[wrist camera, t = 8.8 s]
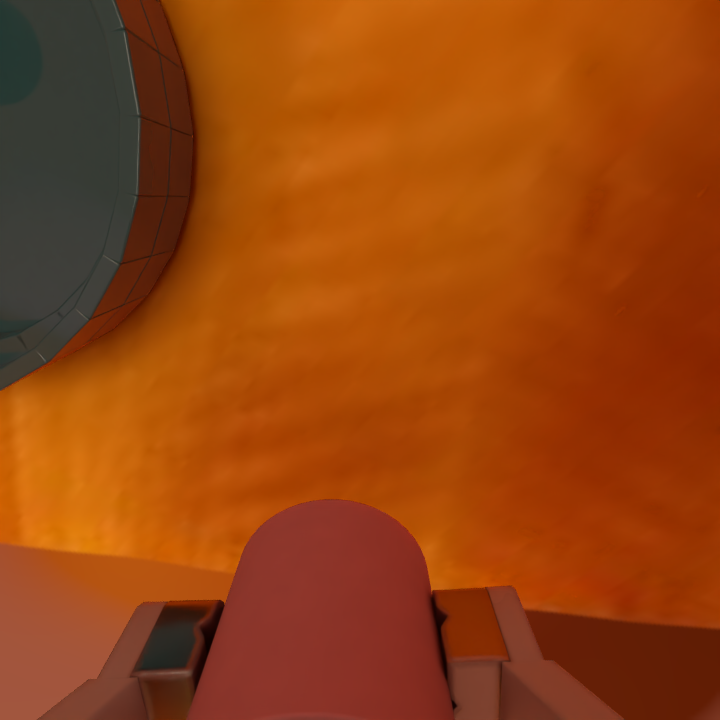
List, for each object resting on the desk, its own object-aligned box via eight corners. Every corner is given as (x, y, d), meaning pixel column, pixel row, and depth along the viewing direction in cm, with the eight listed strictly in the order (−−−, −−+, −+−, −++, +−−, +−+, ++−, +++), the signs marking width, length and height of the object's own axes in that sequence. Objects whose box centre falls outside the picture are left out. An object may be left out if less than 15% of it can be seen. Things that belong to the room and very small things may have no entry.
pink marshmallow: (426, 493, 10) (475, 708, 6) (428, 649, 11) (470, 920, 7) (226, 503, 10) (129, 721, 6) (250, 656, 11) (185, 930, 7)
